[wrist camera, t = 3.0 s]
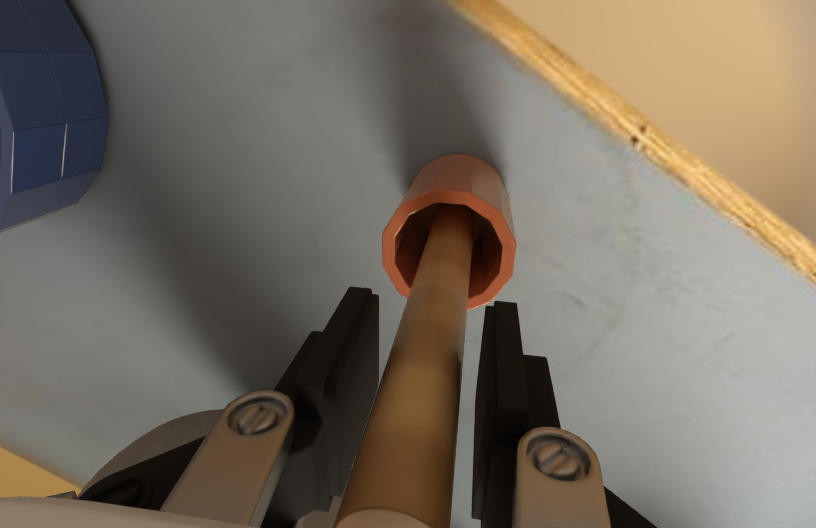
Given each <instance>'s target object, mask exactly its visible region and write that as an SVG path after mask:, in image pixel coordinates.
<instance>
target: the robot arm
mask: <svg viewBox="0 0 816 528" xmlns="http://www.w3.org/2000/svg"><path fill="white" fill-rule="evenodd" d="M378 381H379V296H378V295H376V294H372V290H371V289H369V288H359V287H349V288H348V290H347V292H346V294H345V295H344V297H343V299H342V300H341V302H340V304H339V305H338V307H337V309H336V310H335V312H334V314H333V315H332V317H331V319H330V320H329V322H328V324H327V325H326V327H325V329H324V330H323V332H318V331H313V332H311V333H310V334H309V336H308V337H307V339H306V340H305V342H304V344H303V345H302V347H301V348H300V350H299V351H298V353H297V355H296V356H295V358H294V359H293V361H292V362H291V364H290V366H289V367H288V369H287V370H286V372H285V373H284V375H283V376H282V378H281V380H280V381H279V383H278V384H277V386H276V387H275V389H274V391H272V390H259V391H254V392H250V393H247V394H244V395H242V396H240V397H237V398H236V399H235V400H233V401H232V402H230V403H229V404H228V405H227V406H226V407H225V408H224V410H223V411H222V412H221V414H220V415H219V417H218V418H217V420H216V422H215V423H214V425H213V426H212V428H211V429H210V431H209V433H208V434H207V435H206V436H204V437H201V438H199V439H196V440H194V441H191V442H189V443H187V444H184V445H182V446H179V447H177V448H174V449H172V450H169V451H167V452H165V453H162V454H160V455H157V456H155V457H152V458H150V459H147V460H145V461H142V462H140V463H138V464H135V465H133V466H130V467H128V468H125V469H123V470H120V471H118V472H116V473H113V474H111V475H109V476H107V477H105V478H103V479H101V480H99V481H98V482H96V483H95V484H94V485H92V486H91V487H90V488H88V489H87V490H86V491H85V492H84V493H83V494H82V495H81V496H80V497H77V495H76V493H75V491H71V492H66V493H61V494H57V495H52V496H47V497H20V496H19V497H4V498H0V528H303V527H304V519H305V516H306V515H308V514H309V513H311V512H313V511H315V510H318V511H324V512H329V509H330V507H331V504H332V501H333V498H334V496H335V497H342V495H343V492H344V489H345V486H346V483H347V480H348V477H349V474H350V471H351V468H352V465H353V462H354V459H355V456H356V453H357V450H358V447H359V444H360V441H361V438H362V435H363V432H364V429H365V426H366V423H367V419H368V416H369V413H370V410H371V407H372V404H373V401H374V398H375V395H376V392H377V388H378ZM472 518H473V519H479V520H481V528H657V527H656V526H655V525H653V524H652V523H651V522H649V521H648V520H647V519H646V518H644V517H643V516H642V515H640V514H639V513H638V512H637V511H635V510H634V509H633V508H631V507H630V506H629V505H628V504H626V503H625V502H624V501H622V500H621V499H620V498H619V497H617V496H616V495H615V494H613V493H612V492H611V491H610V490H608V489H607V488H606V487H605V486H603V480H602V475H601V469H600V464H599V461H598V458H597V456H596V454H595V452H594V451H593V450H592V448H591V447H590V446H589V445H588V444H587V443H586V442H585V441H583V440H582V439H581V438H580V437H578V436H576V435H574V434H572V433H570V432H569V431H566V430H562V429H561V427H560V422H559V417H558V412H557V407H556V402H555V397H554V392H553V387H552V382H551V377H550V372H549V367H548V362H547V358H546V357H541V356H532V355H523V350H522V342H521V334H520V325H519V317H518V309H517V303H512V302H502V301H495V302H494V306H486V308H485V316H484V325H483V334H482V343H481V352H480V361H479V370H478V379H477V388H476V399H475V425H474V455H473V485H472Z"/></svg>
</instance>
